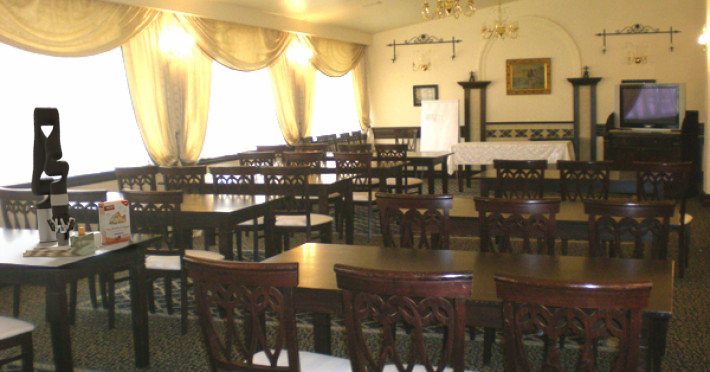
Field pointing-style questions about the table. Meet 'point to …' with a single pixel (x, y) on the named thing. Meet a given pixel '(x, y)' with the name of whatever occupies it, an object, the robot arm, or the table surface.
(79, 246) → the rail track
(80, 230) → the button
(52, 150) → the robot arm
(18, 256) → the table surface
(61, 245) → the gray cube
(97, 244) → the white cube
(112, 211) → the cracker box
